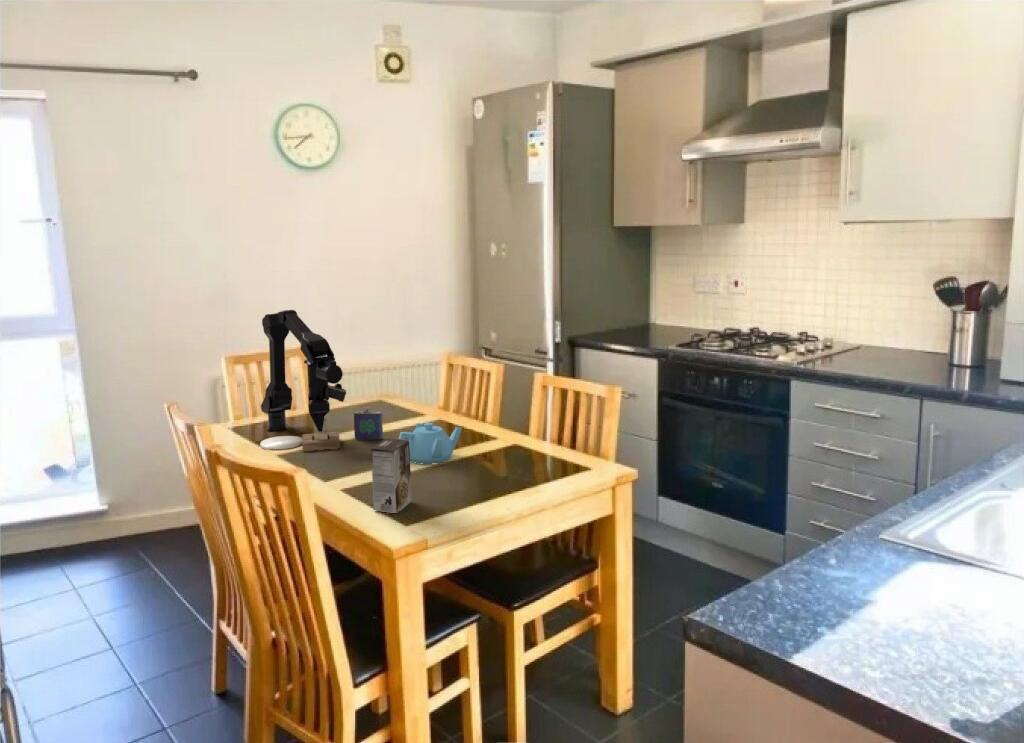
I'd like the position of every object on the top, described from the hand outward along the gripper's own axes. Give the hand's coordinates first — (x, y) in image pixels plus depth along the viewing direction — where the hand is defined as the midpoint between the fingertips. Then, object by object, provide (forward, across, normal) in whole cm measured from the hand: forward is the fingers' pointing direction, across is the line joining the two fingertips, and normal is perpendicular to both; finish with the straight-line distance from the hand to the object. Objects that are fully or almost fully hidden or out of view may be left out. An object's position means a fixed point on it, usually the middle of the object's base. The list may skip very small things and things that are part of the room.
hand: (320, 427), depth 241 cm
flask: (+6, +3, -15) cm, 16 cm away
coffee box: (+6, -60, -16) cm, 62 cm away
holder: (+6, 0, 0) cm, 6 cm away
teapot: (+6, -23, -31) cm, 39 cm away
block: (+6, 0, 0) cm, 6 cm away
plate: (+6, +5, +12) cm, 14 cm away
